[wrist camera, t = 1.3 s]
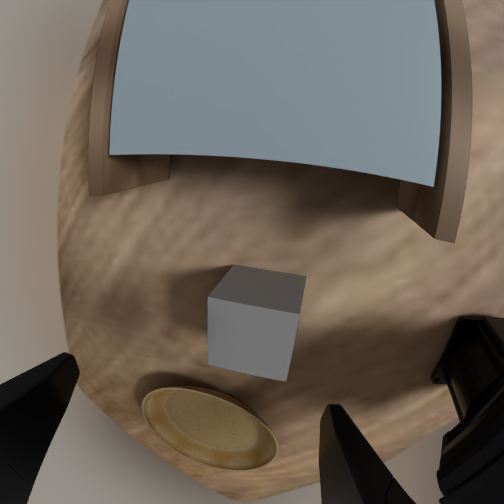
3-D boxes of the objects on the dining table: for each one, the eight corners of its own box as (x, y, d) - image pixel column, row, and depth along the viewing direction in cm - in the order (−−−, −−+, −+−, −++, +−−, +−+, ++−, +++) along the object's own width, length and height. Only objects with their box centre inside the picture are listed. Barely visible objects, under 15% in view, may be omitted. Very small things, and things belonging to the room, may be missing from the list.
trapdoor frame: (410, 209, 16) (454, 242, 10) (157, 178, 19) (88, 194, 13) (417, 0, 11) (447, -51, 4) (177, -8, 14) (124, -48, 8)
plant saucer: (303, 402, 23) (300, 423, 21) (262, 466, 29) (257, 483, 26) (153, 347, 25) (139, 363, 23) (152, 425, 31) (144, 439, 29)
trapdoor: (401, 176, 14) (433, 187, 9) (161, 151, 17) (109, 154, 12) (403, -8, 10) (423, -50, 5) (181, -13, 12) (142, -46, 8)
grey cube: (295, 336, 21) (286, 381, 16) (231, 323, 22) (207, 364, 17) (306, 275, 19) (299, 314, 15) (234, 264, 20) (207, 296, 16)
